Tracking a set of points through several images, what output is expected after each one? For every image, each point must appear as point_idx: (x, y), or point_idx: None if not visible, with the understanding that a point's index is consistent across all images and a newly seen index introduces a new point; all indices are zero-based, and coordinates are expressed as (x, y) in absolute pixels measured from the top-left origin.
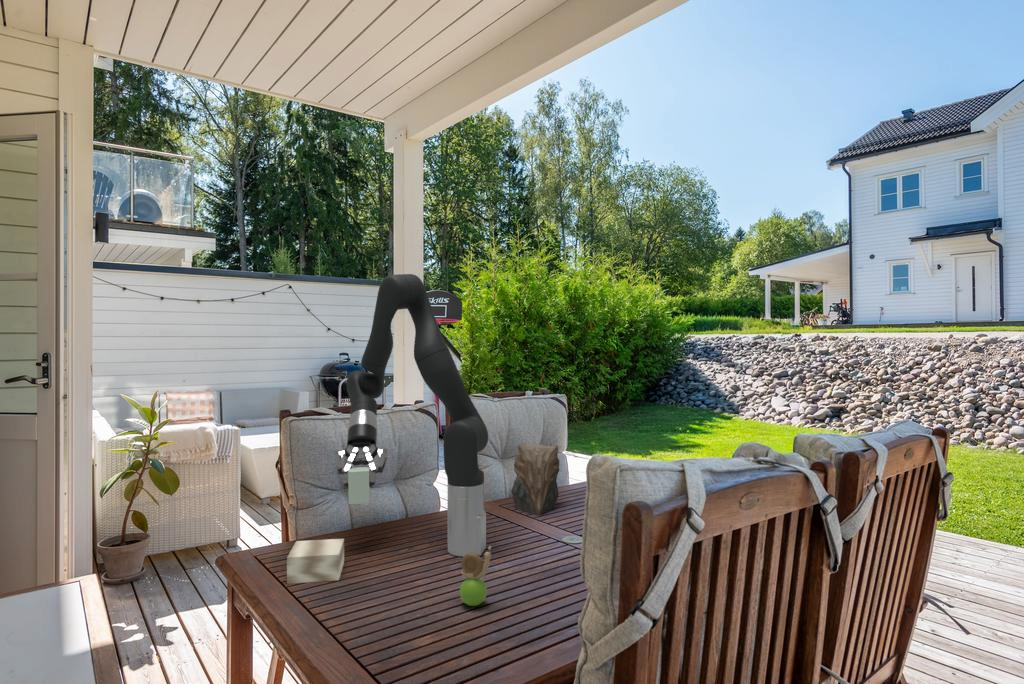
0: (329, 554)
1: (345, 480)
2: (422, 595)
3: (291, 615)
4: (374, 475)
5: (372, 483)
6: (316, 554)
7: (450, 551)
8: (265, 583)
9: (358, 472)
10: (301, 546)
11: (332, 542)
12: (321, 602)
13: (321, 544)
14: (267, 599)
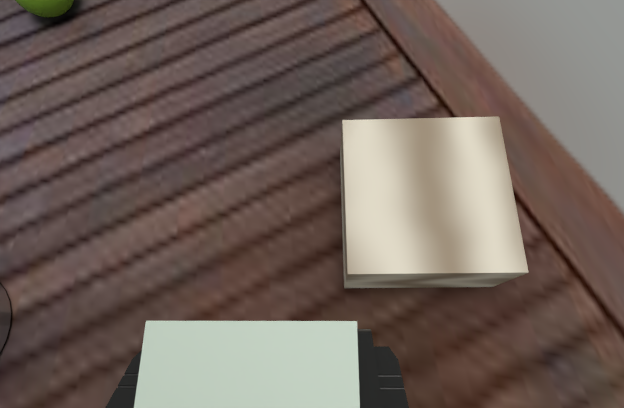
0: (371, 123)
1: (380, 366)
2: (147, 56)
3: (407, 7)
4: (115, 398)
5: None
6: (412, 129)
7: (3, 299)
8: (530, 163)
9: (254, 322)
10: (486, 209)
11: (383, 234)
12: (360, 50)
13: (419, 220)
14: (485, 77)
